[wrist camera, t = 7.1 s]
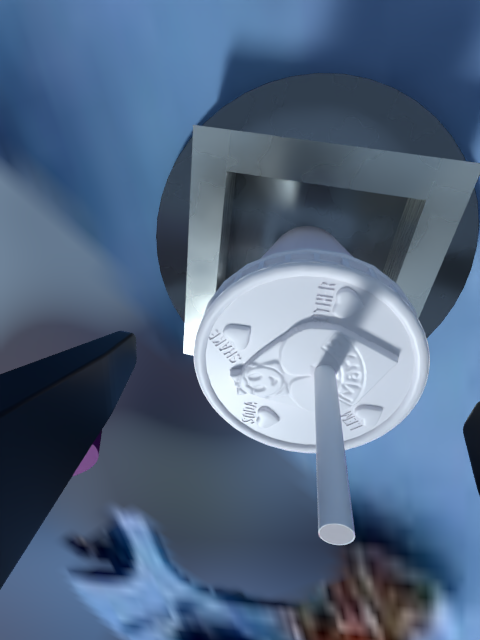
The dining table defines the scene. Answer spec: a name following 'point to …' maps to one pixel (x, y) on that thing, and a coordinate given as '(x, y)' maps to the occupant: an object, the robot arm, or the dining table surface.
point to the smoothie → (313, 358)
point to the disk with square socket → (320, 191)
